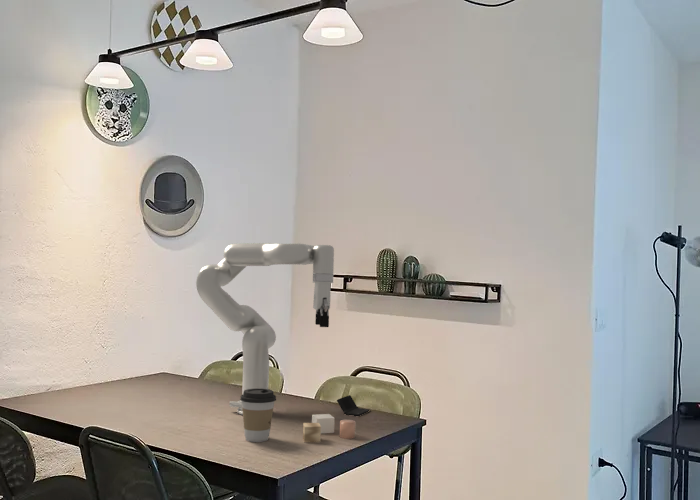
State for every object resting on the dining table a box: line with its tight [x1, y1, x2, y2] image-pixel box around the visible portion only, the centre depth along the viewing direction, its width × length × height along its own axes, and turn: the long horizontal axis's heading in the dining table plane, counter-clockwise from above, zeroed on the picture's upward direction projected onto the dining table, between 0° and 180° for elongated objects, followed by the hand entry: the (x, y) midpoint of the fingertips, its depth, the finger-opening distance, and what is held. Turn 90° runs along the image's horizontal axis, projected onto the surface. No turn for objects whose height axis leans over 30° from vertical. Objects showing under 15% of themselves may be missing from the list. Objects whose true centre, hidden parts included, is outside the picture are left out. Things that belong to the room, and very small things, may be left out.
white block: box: [311, 413, 335, 434], centre depth 227 cm, size 6×6×5 cm
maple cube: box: [302, 422, 322, 444], centre depth 215 cm, size 5×5×5 cm
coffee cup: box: [239, 388, 277, 443], centre depth 214 cm, size 11×11×15 cm
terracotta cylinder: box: [339, 419, 356, 440], centre depth 221 cm, size 5×5×5 cm
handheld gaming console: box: [336, 394, 370, 417], centre depth 258 cm, size 12×7×10 cm
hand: (321, 325), depth 249 cm, fingers open, 9 cm apart
